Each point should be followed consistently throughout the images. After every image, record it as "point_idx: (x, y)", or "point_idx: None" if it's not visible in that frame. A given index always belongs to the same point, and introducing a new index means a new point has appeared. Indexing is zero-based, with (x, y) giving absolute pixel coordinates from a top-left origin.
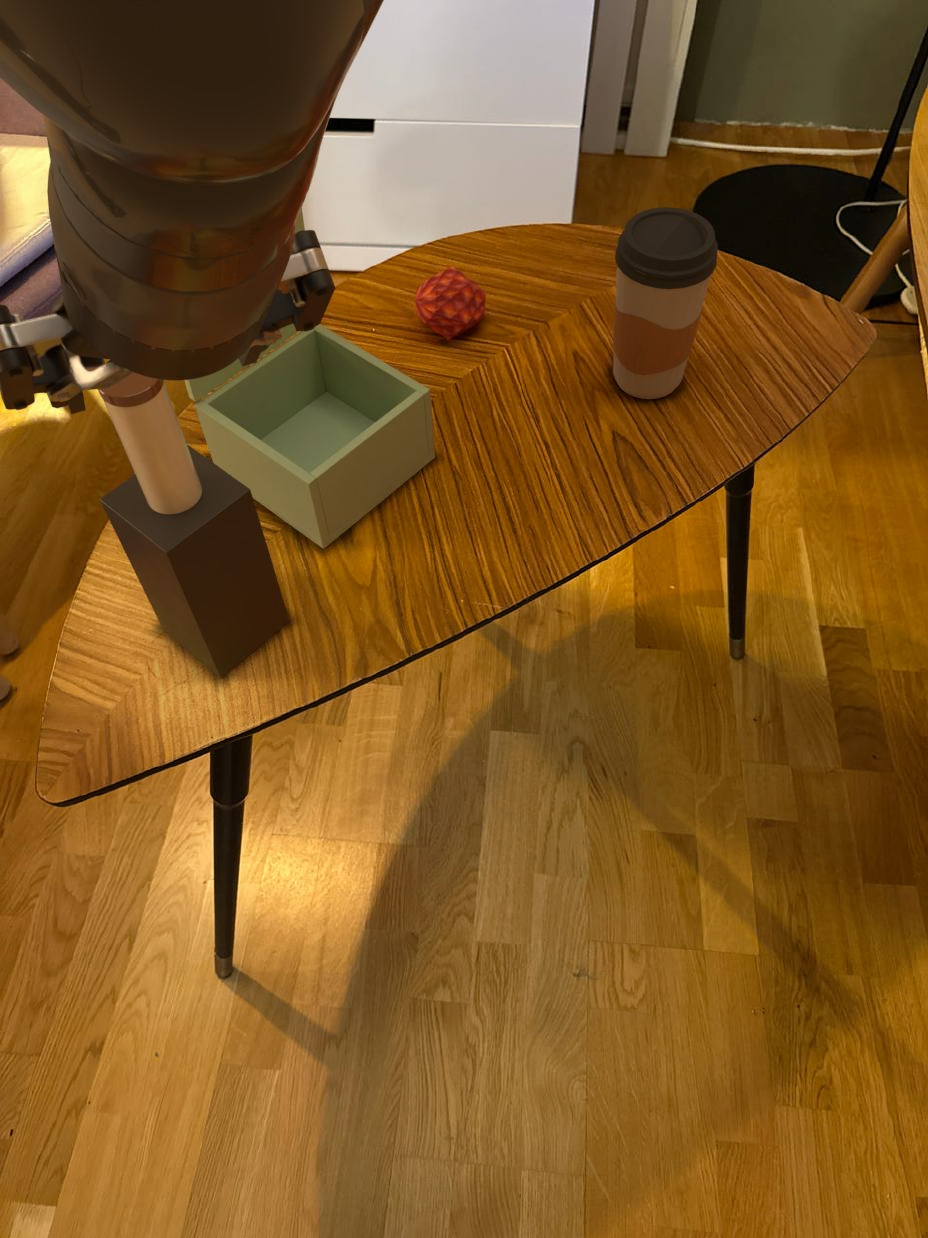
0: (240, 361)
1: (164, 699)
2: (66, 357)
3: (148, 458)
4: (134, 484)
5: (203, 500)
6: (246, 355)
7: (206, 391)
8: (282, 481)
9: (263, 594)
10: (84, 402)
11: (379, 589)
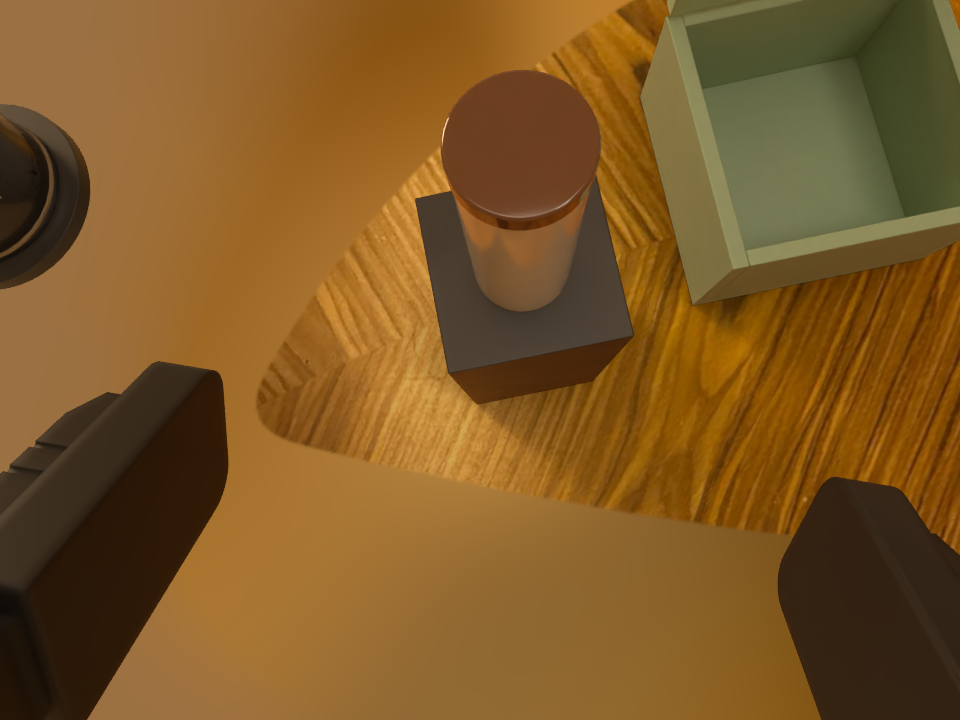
0: (782, 576)
1: (407, 386)
2: (23, 631)
3: (487, 266)
4: None
5: (554, 309)
6: (822, 712)
7: (696, 7)
8: (703, 216)
9: (574, 376)
10: (160, 598)
11: (719, 411)
